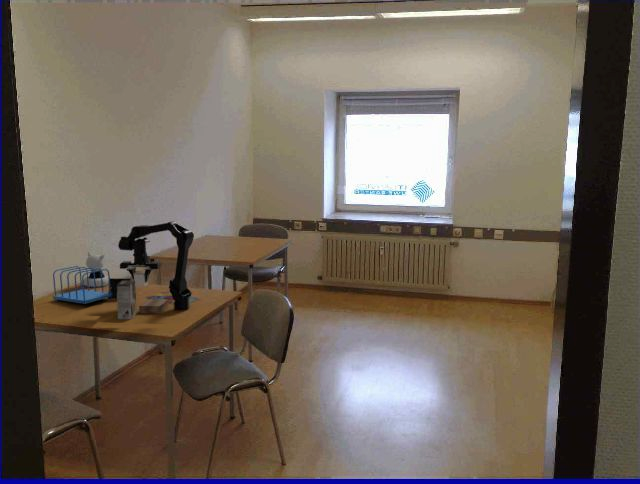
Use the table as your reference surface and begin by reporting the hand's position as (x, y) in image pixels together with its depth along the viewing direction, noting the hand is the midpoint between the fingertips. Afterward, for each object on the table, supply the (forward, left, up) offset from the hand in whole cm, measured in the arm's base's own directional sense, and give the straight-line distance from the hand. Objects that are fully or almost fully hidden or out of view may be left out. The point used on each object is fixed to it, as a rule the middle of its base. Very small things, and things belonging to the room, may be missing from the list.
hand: (141, 282), depth 277 cm
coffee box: (-1, +21, -12) cm, 24 cm away
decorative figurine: (+40, -41, -12) cm, 59 cm away
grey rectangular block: (+16, -12, -11) cm, 23 cm away
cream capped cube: (0, 0, -1) cm, 1 cm away
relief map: (-12, -14, -12) cm, 22 cm away
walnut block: (-9, +9, -11) cm, 17 cm away
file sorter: (+34, -10, -11) cm, 37 cm away
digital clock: (+17, -26, -12) cm, 34 cm away
